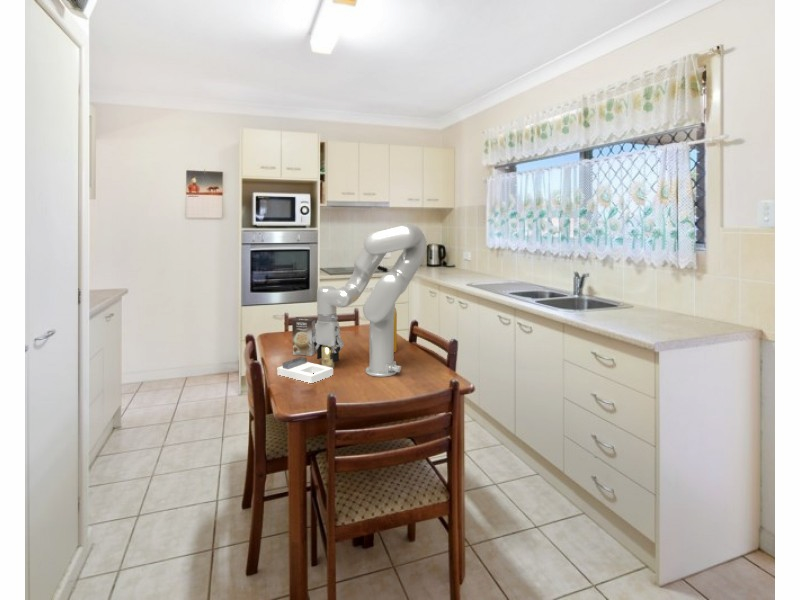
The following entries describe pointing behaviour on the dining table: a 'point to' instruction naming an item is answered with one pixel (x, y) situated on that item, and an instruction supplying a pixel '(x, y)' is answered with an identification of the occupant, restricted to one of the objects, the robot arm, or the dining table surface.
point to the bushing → (327, 356)
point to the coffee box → (303, 336)
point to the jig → (304, 370)
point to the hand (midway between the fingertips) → (327, 359)
